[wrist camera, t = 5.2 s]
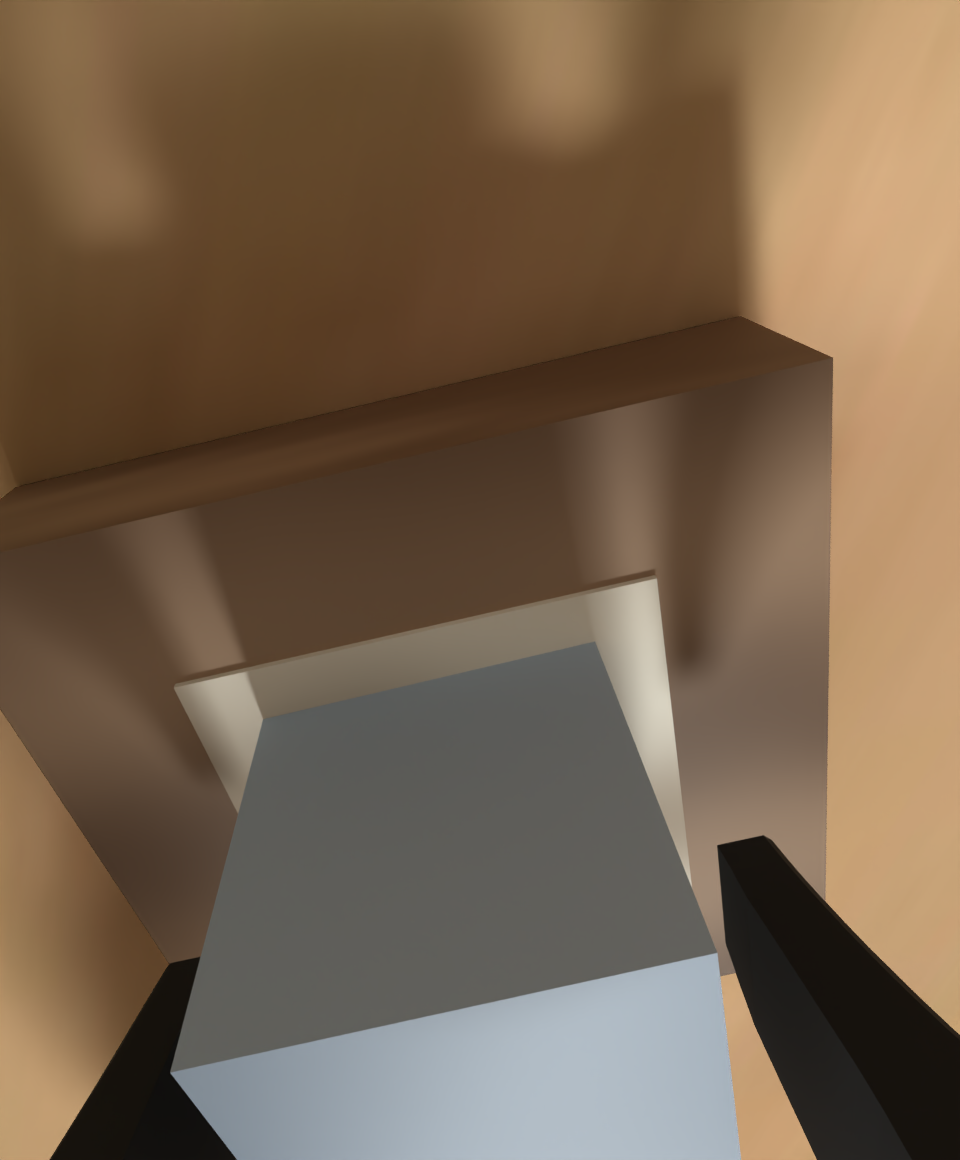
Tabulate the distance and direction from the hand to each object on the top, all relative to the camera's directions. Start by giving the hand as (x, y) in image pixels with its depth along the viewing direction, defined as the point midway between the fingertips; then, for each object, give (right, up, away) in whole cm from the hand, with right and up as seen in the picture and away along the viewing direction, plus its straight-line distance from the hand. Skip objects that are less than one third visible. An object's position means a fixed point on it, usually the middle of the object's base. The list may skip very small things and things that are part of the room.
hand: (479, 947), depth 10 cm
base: (0, +3, +5) cm, 6 cm away
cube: (0, +1, +2) cm, 3 cm away
